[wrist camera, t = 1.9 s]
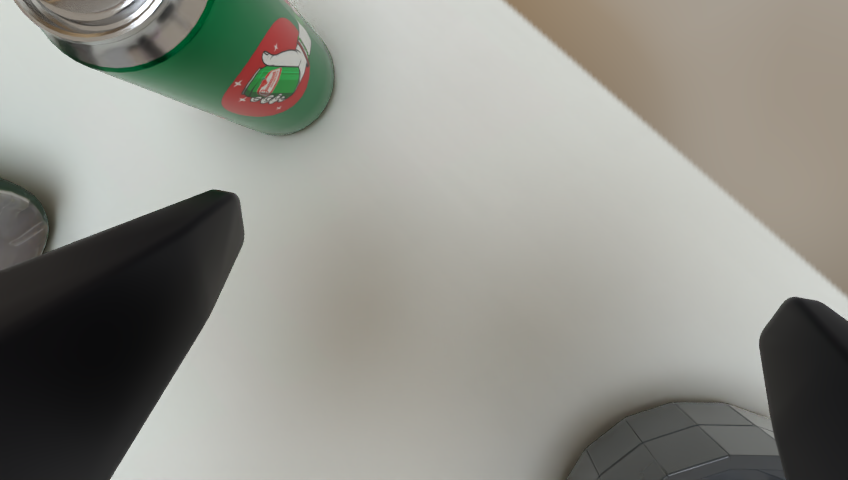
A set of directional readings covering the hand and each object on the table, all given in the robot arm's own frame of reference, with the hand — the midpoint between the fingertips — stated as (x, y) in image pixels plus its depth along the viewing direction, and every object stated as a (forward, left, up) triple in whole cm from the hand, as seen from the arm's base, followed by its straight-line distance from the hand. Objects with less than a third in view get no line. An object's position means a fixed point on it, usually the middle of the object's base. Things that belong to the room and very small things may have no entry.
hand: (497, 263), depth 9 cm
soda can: (-7, +8, -15) cm, 18 cm away
